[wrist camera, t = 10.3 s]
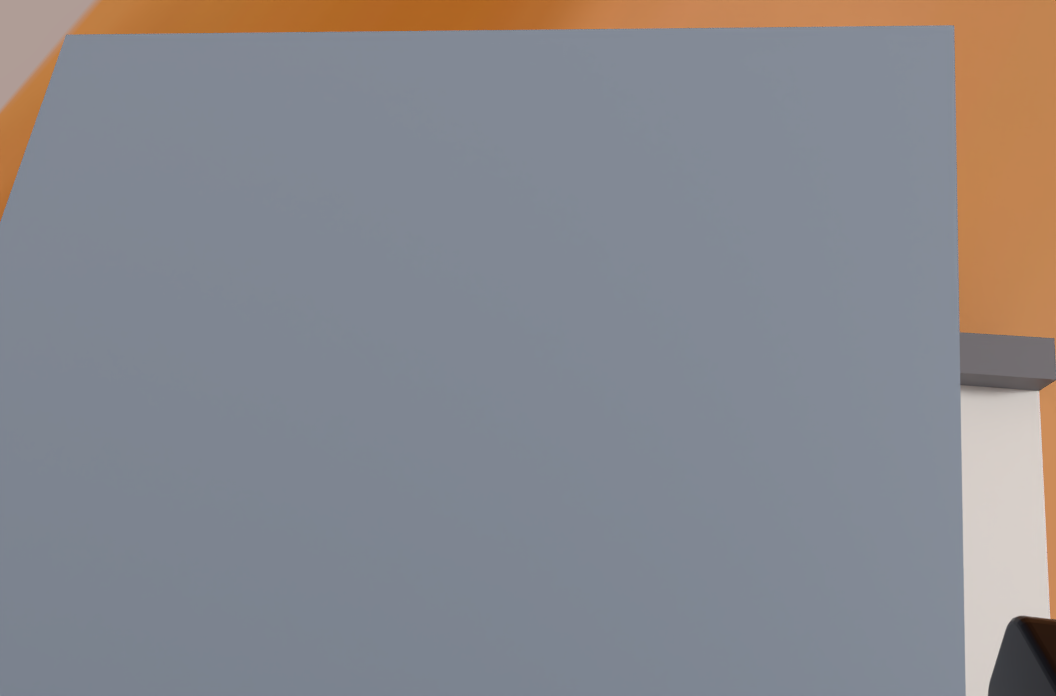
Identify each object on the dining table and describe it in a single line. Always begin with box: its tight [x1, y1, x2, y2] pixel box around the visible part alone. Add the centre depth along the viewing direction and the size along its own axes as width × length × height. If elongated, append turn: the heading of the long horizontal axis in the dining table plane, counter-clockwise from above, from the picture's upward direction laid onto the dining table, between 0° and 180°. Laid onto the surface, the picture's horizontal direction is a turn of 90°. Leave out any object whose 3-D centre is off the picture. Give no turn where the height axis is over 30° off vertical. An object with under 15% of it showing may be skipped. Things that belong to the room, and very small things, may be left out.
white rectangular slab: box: [959, 333, 1056, 696], centre depth 16 cm, size 12×16×2 cm
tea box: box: [0, 26, 966, 696], centre depth 11 cm, size 5×6×12 cm
